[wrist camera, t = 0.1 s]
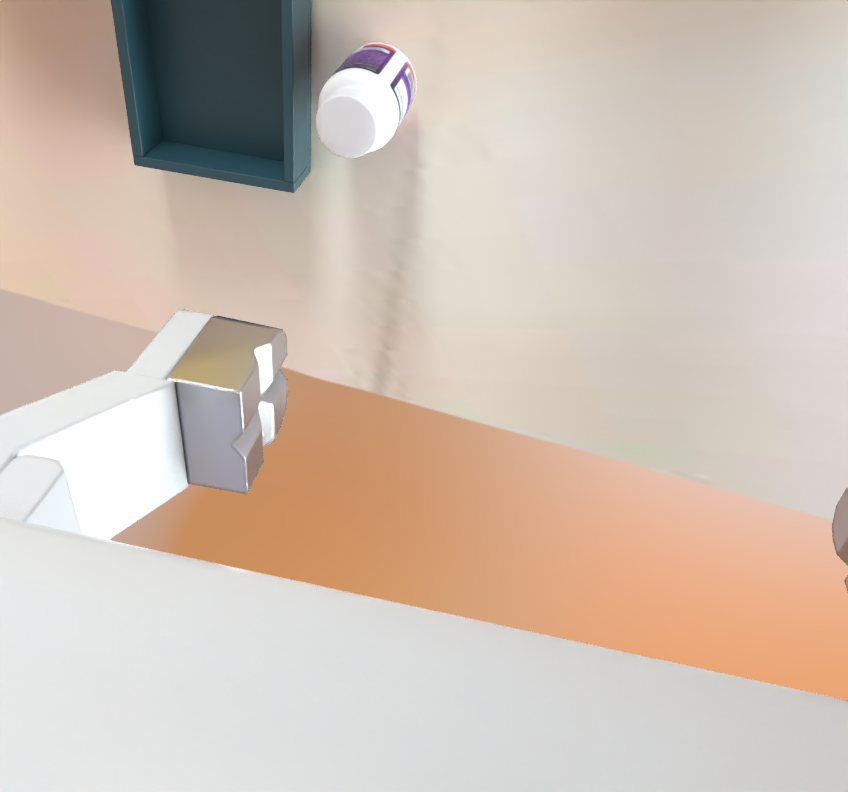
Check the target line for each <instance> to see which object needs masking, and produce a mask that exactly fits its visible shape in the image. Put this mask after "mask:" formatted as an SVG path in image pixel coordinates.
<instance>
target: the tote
mask: <svg viewBox="0 0 848 792" xmlns="http://www.w3.org/2000/svg"><path fill="white" fill-rule="evenodd" d="M111 4H112V11H113V18H114V25H115V32H116V39H117V46H118V53H119V60H120V67H121V74H122V81H123V88H124V95H125V102H126V109H127V116H128V123H129V130H130V137H131V144H132V151H133V155H134V156H133V157H134V164H135V165H137V166H143V167H149V168H155V169H160V170H166V171H172V172H177V173H183V174H189V175H195V176H200V177H206V178H212V179H218V180H223V181H229V182H235V183H240V184H246V185H252V186H258V187H263V188H269V189H275V190H280V191H286V192H292V193H294V192H295V191H296V190H297V188H298V187H299V186H300V185H301V183H302V182H303V181H304V179H305V178H306V177H307V175H308V174H309V173H310V145H311V0H111Z"/></svg>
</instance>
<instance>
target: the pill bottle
mask: <svg viewBox="0 0 848 792" xmlns="http://www.w3.org/2000/svg"><path fill="white" fill-rule="evenodd" d="M415 93H416V75H415V71H414V69H413V66H412V64H411V63H410V61H409V59H408V58H407V57H406V56H405V55H404V54H403V53H402V52H401V51H400V50H398V49H397V48H395V47H393V46H391V45H389V44H385V43H379V42H374V43H368V44H365V45H363V46H361V47H359V48H358V49H356V50H355V51H354V52H353V53H352V54H351V55H350V56H349V57H348V58H347V59H346V60H345V62H344V63H343V64H342V65H341V66H340V67H339V68H338V69H337V70H336V72H335V73H334V74H333V75H332V76H331V77H330V78H329V79H328V81H327V82H326V83H325V85H324V87H323V88H322V90H321V93H320V96H319V101H318V112H317V116H316V129H317V133H318V136H319V138H320V140H321V141H322V143H323V144H324V146H325V147H326V148H327V149H328V150H330V151H331V152H332V153H334V154H335V155H338V156H340V157H344V158H357V157H360V156H362V155H364V154H366V153H367V152H372V151H375V150H377V149H379V148H381V147H383V146H384V145H385V144H386V143H387V142H388V141H389V140H390V139H391V138H392V136H393V135H394V133H395V132H396V130H397V128H398V126H399V125H400V123H401V121H402V120H403V118H404V116H405V114H406V113H407V111H408V109H409V107H410V106H411V104H412V102H413V99H414V97H415Z"/></svg>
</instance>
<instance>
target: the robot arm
mask: <svg viewBox="0 0 848 792" xmlns="http://www.w3.org/2000/svg"><path fill="white" fill-rule="evenodd" d="M286 356H287V338H286V334H285V332H284V331H283V329H278V328H273V327H269V326H264V325H259V324H255V323H250V322H245V321H240V320H236V319H231V318H226V317H222V316H214V315H211V314H206V313H201V312H196V311H191V310H186V309H183V310H180V311H177V312H175V313H174V314H173V316H172V317H171V318H170V319H169V320H168V322H167V323H166V324H165V325H164V327H163V328H162V329H161V330H160V331H159V333H158V334H157V335H156V336H155V337H154V339H153V340H152V341H151V342H150V344H149V345H148V346H147V347H146V348H145V350H144V351H143V352H142V353H141V355H140V356H139V357H138V358H137V359H136V361H135V362H134V363H133V364H132V365H131V367H130V368H129V369H128V370H127V371H126V372H122V371H117V370H115V371H113V372H110V373H108V374H105V375H102V376H100V377H97V378H95V379H92V380H89V381H87V382H84V383H82V384H79V385H77V386H74V387H72V388H69V389H66V390H64V391H61V392H59V393H56V394H53V395H51V396H48V397H46V398H43V399H41V400H38V401H35V402H33V403H30V404H27V405H25V406H22V407H20V408H17V409H15V410H12V411H9V412H7V413H4V414H2V415H0V792H848V700H844V699H839V698H835V697H830V696H825V695H821V694H816V693H811V692H807V691H802V690H798V689H793V688H788V687H784V686H780V685H775V684H771V683H766V682H761V681H757V680H752V679H748V678H743V677H739V676H733V675H729V674H725V673H720V672H716V671H711V670H706V669H702V668H697V667H692V666H688V665H683V664H679V663H675V662H670V661H665V660H660V659H656V658H651V657H647V656H642V655H637V654H633V653H628V652H623V651H619V650H614V649H610V648H605V647H600V646H595V645H591V644H586V643H582V642H577V641H572V640H568V639H563V638H558V637H554V636H549V635H545V634H540V633H536V632H531V631H526V630H522V629H517V628H512V627H507V626H502V625H499V624H494V623H489V622H484V621H480V620H475V619H471V618H466V617H461V616H457V615H452V614H448V613H443V612H438V611H434V610H429V609H424V608H419V607H415V606H410V605H406V604H401V603H397V602H392V601H387V600H382V599H378V598H373V597H369V596H364V595H360V594H355V593H350V592H346V591H341V590H337V589H332V588H327V587H322V586H318V585H313V584H309V583H304V582H299V581H295V580H290V579H286V578H281V577H277V576H272V575H267V574H263V573H258V572H254V571H249V570H244V569H240V568H235V567H230V566H226V565H220V564H216V563H212V562H207V561H203V560H198V559H193V558H189V557H184V556H180V555H175V554H170V553H166V552H161V551H157V550H152V549H147V548H143V547H138V546H133V545H128V544H124V543H119V542H115V541H110V540H109V539H110V538H112V537H113V536H115V535H117V534H118V533H120V532H121V531H123V530H124V529H126V528H127V527H128V526H130V525H132V524H133V523H135V522H136V521H138V520H139V519H140V518H142V517H144V516H145V515H147V514H148V513H150V512H151V511H153V510H154V509H156V508H157V507H158V506H160V505H162V504H163V503H164V502H166V501H168V500H169V499H171V498H172V497H174V496H175V495H177V494H178V493H180V492H181V491H182V490H184V489H186V488H187V487H188V484H193V485H198V486H204V487H209V488H215V489H220V490H227V491H232V492H237V493H243V494H247V493H248V491H249V489H250V487H251V485H252V483H253V481H254V479H255V477H256V475H257V473H258V471H259V469H260V468H261V466H262V464H263V446H265V445H267V444H269V443H271V442H273V441H274V440H275V438H276V436H277V434H278V432H279V430H280V428H281V424H282V421H283V417H284V414H285V410H286V404H287V395H288V379H287V378H286V376H285V375H284V374H283V372H282V371H281V370H280V367H281V365H282V363H283V362H284V360H285V358H286ZM832 533H833V542H834V546H835V550H836V553H837V555H838V556H839V557H840V558H841V559H842V560H843V561H844V562H845V563H846V564H847V565H848V488H846V490H845V491H844V493H843V495H842V497H841V499H840V500H839V502H838V504H837V506H836V510H835V514H834V519H833V523H832ZM845 584H846V588H847V591H848V576H847V578H846V579H845Z"/></svg>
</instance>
